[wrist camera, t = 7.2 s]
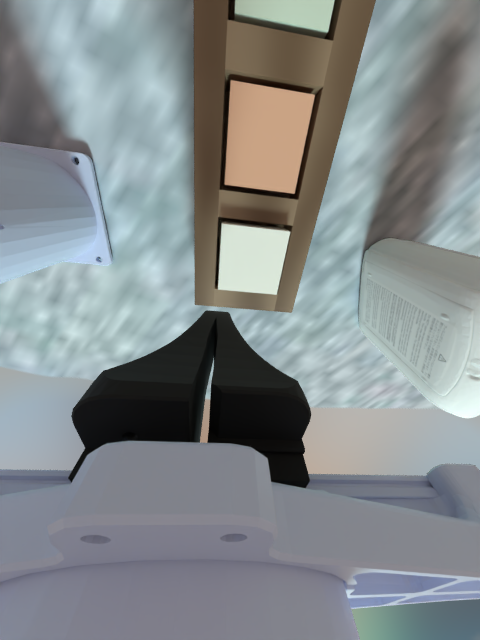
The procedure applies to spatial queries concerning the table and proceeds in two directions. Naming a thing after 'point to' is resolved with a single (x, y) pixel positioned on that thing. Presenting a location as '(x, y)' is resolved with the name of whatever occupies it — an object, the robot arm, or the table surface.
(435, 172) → the table surface
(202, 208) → the keyboard
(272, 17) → the sage key
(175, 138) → the table surface
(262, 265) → the ivory key
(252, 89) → the terracotta key
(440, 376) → the white rounded slab
